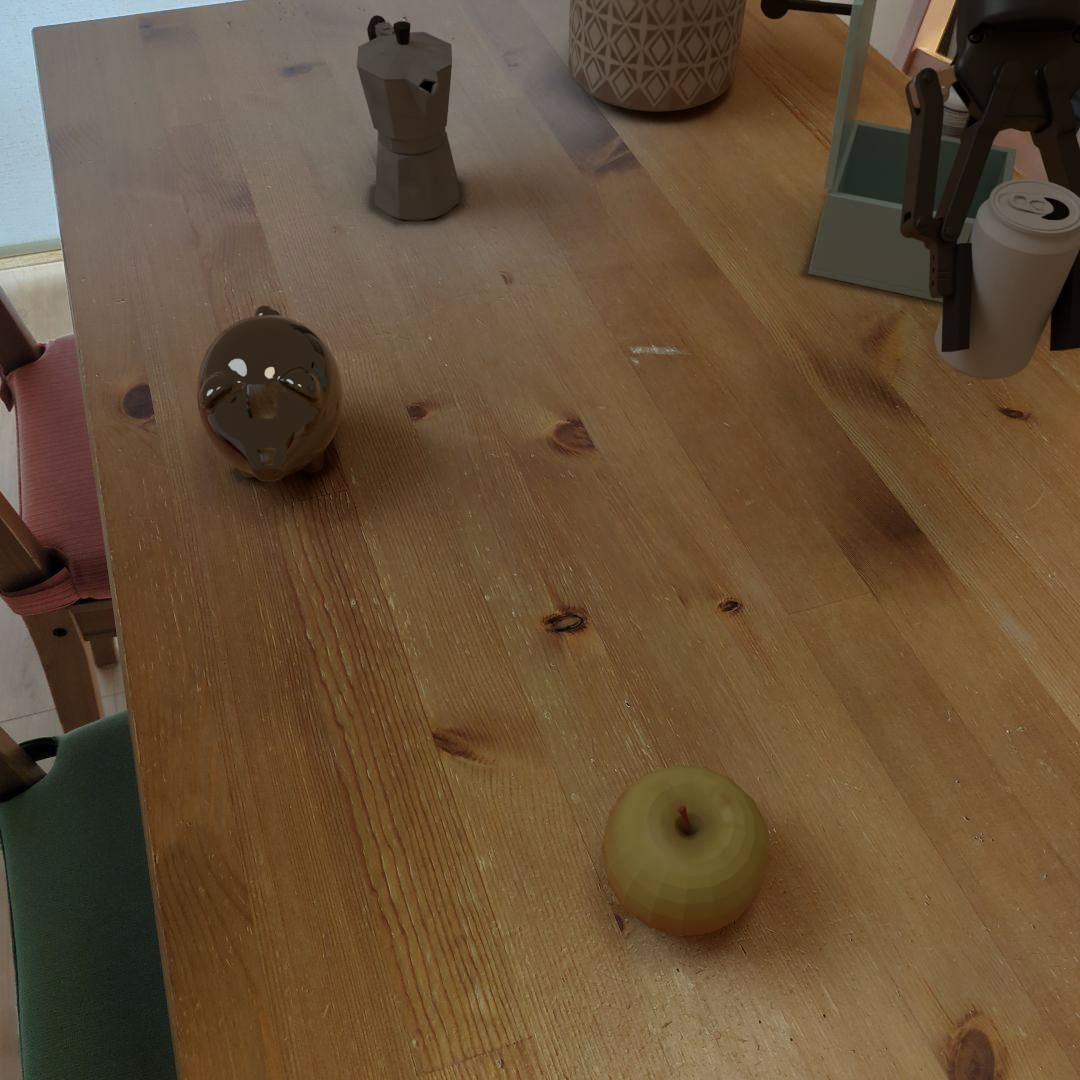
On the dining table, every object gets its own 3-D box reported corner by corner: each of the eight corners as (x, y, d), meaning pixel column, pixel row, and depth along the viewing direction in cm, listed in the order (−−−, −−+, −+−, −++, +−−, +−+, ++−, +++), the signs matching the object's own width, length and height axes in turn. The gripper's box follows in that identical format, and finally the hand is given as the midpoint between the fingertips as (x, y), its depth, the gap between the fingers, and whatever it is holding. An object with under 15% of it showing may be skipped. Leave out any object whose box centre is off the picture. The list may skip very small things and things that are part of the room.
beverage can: (1023, 396, 74) (1092, 244, 64) (924, 374, 75) (978, 222, 66) (1030, 336, 77) (1097, 185, 68) (936, 316, 79) (989, 165, 69)
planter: (648, 24, 138) (660, -120, 126) (767, 84, 129) (793, -65, 117) (533, 77, 130) (533, -72, 117) (653, 144, 121) (667, -9, 108)
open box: (987, 228, 112) (1016, 149, 105) (973, 309, 104) (1004, 229, 97) (832, 197, 115) (851, 118, 108) (807, 274, 107) (826, 194, 100)
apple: (621, 783, 73) (630, 721, 67) (769, 824, 71) (792, 764, 65) (581, 926, 67) (587, 872, 61) (742, 974, 65) (764, 924, 59)
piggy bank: (208, 526, 86) (171, 420, 77) (220, 394, 96) (188, 286, 87) (353, 514, 87) (333, 408, 78) (351, 384, 97) (333, 276, 88)
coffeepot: (485, 218, 112) (479, 44, 98) (398, 242, 110) (379, 67, 96) (426, 143, 121) (413, -27, 107) (344, 164, 118) (320, -8, 104)
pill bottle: (924, 135, 123) (950, 49, 115) (973, 148, 121) (1002, 61, 114) (911, 160, 120) (937, 72, 112) (961, 173, 118) (991, 85, 111)
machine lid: (888, -65, 95) (787, -73, 98) (862, 4, 87) (753, -6, 89) (856, 114, 108) (767, 104, 110) (832, 190, 100) (736, 177, 102)
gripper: (1144, -5, 73) (1129, 352, 75) (848, -3, 72) (842, 355, 75) (1214, -55, 65) (1195, 344, 67) (885, -53, 65) (877, 347, 67)
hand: (1010, 349), depth 71 cm, fingers closed on beverage can, 6 cm apart
